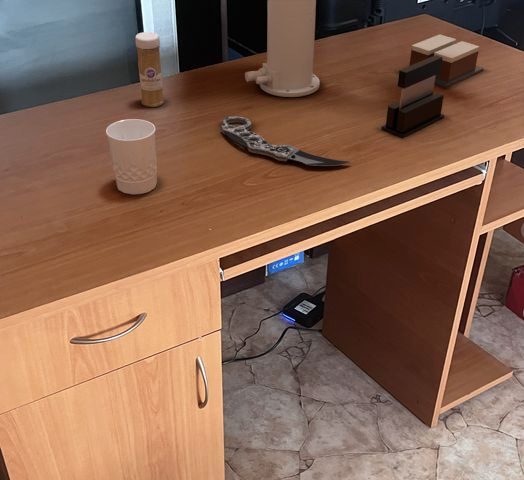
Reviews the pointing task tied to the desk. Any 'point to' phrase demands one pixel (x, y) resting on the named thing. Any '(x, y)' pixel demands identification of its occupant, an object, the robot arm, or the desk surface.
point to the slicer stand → (413, 115)
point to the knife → (270, 145)
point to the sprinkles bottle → (150, 68)
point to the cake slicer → (418, 80)
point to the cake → (448, 58)
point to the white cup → (133, 155)
